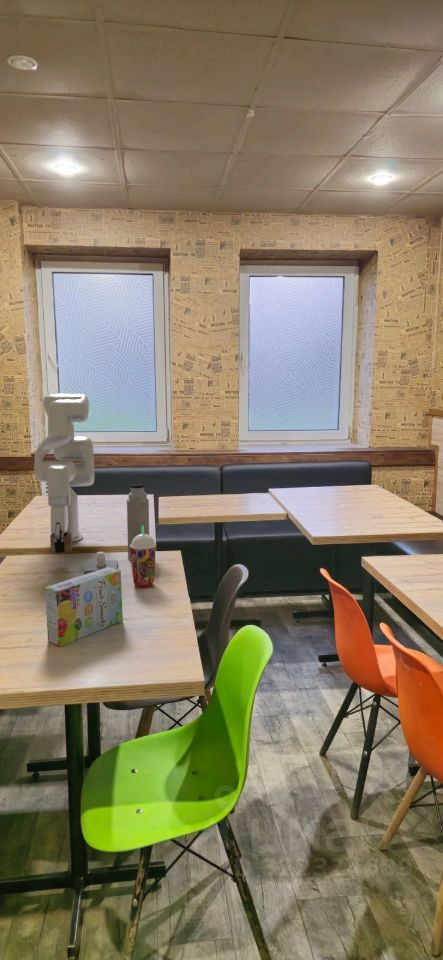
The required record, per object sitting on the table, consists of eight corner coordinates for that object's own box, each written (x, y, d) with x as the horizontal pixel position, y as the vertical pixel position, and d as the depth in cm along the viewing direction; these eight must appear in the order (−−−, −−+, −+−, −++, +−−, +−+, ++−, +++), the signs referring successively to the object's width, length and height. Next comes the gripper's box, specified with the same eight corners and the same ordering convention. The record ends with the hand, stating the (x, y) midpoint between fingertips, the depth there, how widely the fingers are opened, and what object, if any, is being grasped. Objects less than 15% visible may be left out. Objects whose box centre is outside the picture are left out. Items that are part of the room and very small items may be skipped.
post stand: (86, 565, 217) (86, 548, 216) (117, 564, 219) (117, 548, 218) (83, 575, 207) (83, 558, 206) (116, 573, 208) (115, 557, 207)
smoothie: (152, 590, 192) (151, 529, 188) (127, 588, 194) (125, 528, 190) (159, 582, 200) (159, 523, 197) (135, 580, 202) (134, 522, 198)
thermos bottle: (131, 554, 230) (129, 482, 225) (151, 555, 229) (150, 482, 225) (125, 560, 222) (123, 486, 217) (147, 561, 222) (145, 486, 217)
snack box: (110, 616, 172) (108, 565, 169) (123, 621, 168) (122, 570, 166) (46, 641, 156) (43, 586, 153) (59, 648, 152) (57, 591, 149)
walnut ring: (53, 547, 218) (52, 531, 217) (72, 547, 219) (72, 531, 217) (50, 554, 211) (49, 537, 210) (70, 553, 212) (69, 537, 211)
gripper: (52, 494, 219) (54, 541, 223) (44, 506, 202) (46, 557, 206) (73, 494, 220) (75, 540, 224) (67, 506, 203) (69, 556, 207)
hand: (61, 548), depth 215 cm, fingers closed on walnut ring, 7 cm apart
